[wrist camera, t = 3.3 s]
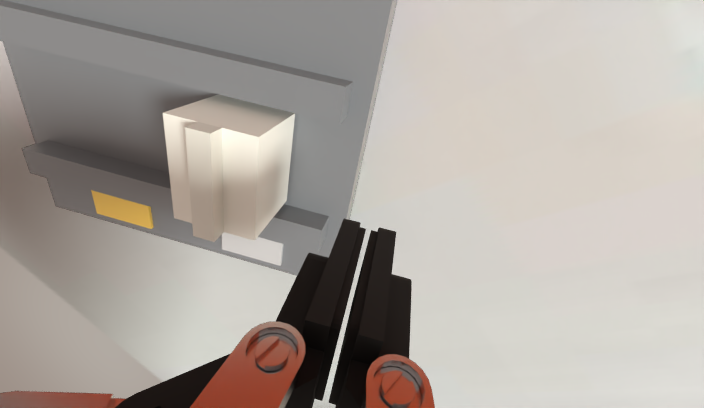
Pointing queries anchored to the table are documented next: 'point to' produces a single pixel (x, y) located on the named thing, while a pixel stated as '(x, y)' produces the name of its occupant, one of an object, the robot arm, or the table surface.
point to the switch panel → (191, 86)
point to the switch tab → (228, 165)
